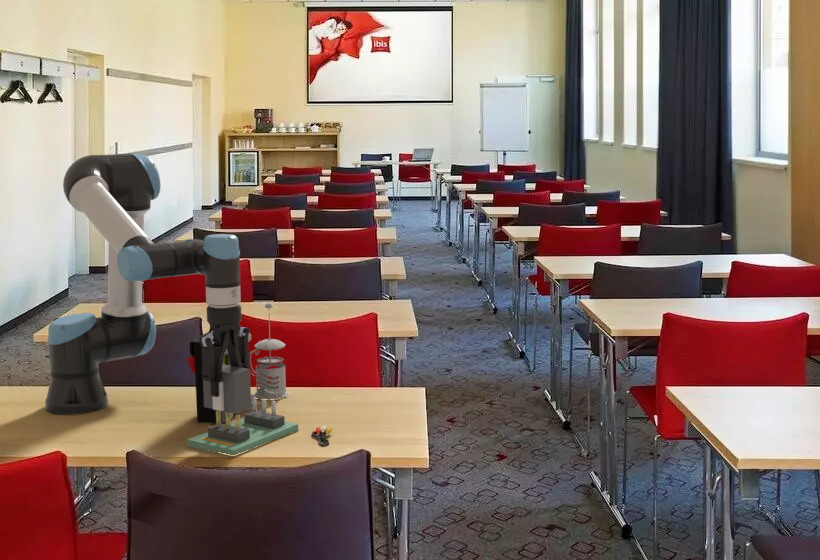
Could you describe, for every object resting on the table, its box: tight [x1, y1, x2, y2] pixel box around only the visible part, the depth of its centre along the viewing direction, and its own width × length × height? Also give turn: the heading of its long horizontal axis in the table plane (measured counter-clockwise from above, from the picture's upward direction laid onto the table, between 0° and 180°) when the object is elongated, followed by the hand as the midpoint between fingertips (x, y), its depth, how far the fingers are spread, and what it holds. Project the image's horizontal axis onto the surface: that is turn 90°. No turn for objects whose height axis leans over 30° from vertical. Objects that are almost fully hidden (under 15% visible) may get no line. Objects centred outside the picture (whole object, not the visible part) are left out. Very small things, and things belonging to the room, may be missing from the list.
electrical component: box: [186, 331, 254, 425], centre depth 237 cm, size 18×10×20 cm, turn 168°
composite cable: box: [311, 424, 333, 447], centre depth 218 cm, size 10×5×2 cm, turn 1°
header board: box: [186, 397, 299, 455], centre depth 219 cm, size 14×22×8 cm, turn 147°
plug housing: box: [203, 364, 252, 415], centre depth 213 cm, size 10×5×9 cm, turn 57°
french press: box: [249, 302, 290, 400], centre depth 252 cm, size 10×12×25 cm
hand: (227, 406), depth 214 cm, fingers closed on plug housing, 5 cm apart
